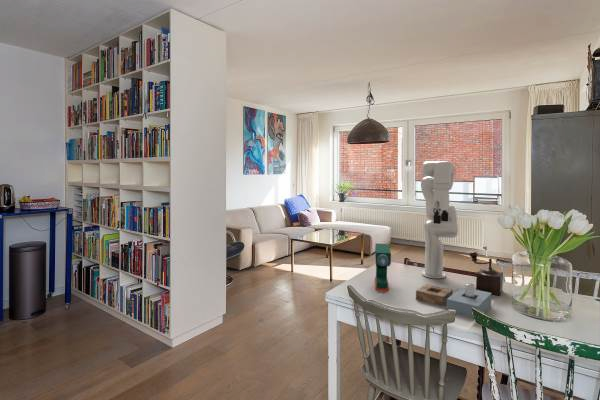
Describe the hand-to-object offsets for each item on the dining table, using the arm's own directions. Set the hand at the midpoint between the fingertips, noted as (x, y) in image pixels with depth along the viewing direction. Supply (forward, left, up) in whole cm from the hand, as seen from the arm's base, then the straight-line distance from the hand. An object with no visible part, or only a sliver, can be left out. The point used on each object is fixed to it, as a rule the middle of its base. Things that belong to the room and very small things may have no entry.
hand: (440, 222), depth 167 cm
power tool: (+15, -22, -35) cm, 44 cm away
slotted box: (+14, +18, -34) cm, 41 cm away
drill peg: (+14, +18, -33) cm, 40 cm away
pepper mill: (-16, +16, -35) cm, 41 cm away
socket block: (+14, +3, -34) cm, 37 cm away
